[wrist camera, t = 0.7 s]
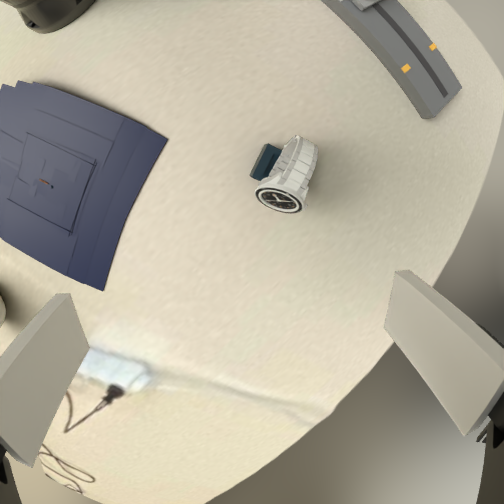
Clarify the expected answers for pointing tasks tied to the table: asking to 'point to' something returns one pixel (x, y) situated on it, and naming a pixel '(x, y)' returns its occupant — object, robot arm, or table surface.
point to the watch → (285, 174)
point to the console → (402, 52)
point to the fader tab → (364, 3)
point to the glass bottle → (2, 311)
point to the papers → (68, 178)
